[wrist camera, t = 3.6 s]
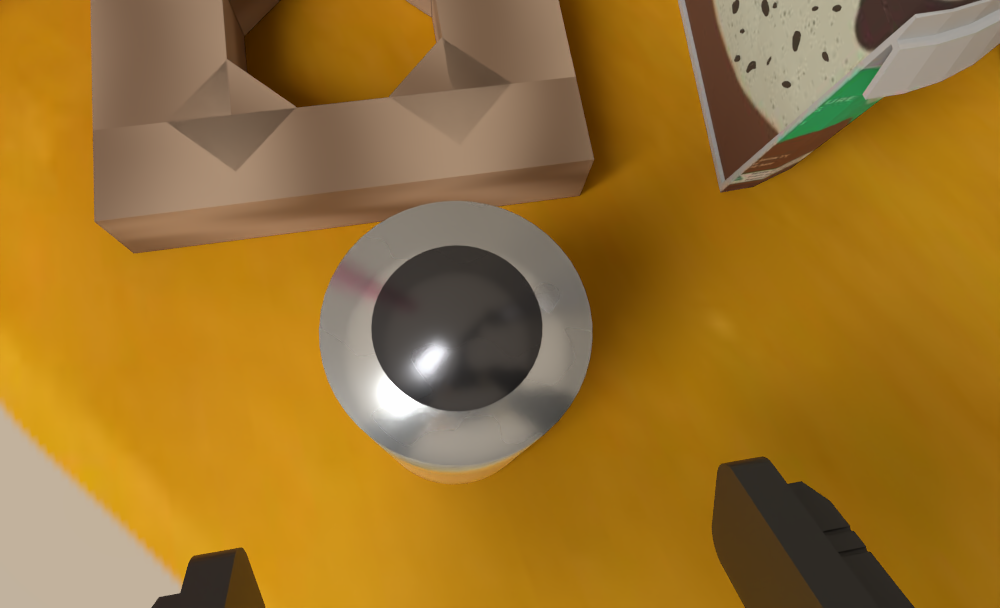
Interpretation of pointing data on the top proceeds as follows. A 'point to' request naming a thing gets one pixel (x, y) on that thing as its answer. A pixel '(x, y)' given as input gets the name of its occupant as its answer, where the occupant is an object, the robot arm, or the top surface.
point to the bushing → (455, 337)
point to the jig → (322, 124)
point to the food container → (817, 68)
